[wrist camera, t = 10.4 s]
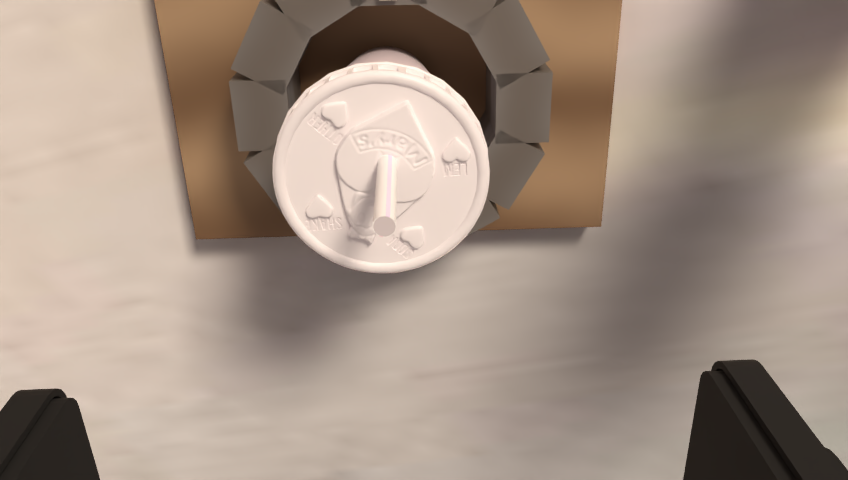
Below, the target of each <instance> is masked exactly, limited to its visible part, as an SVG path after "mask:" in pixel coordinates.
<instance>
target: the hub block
mask: <svg viewBox="0 0 848 480" xmlns="http://www.w3.org/2000/svg"><path fill="white" fill-rule="evenodd" d="M154 3H155V8H156V14H157V20H158V25H159V31H160V37H161V42H162V48H163V54H164V59H165V65H166V71H167V76H168V82H169V88H170V93H171V99H172V105H173V111H174V116H175V122H176V128H177V133H178V139H179V145H180V150H181V156H182V162H183V167H184V173H185V179H186V184H187V190H188V196H189V202H190V207H191V213H192V219H193V224H194V230H195V236H196V239H219V238H251V237H283V236H298V235H297V234H296V233H295V232H294V231H293V229H292V228H291V227H290V225H289V224H288V222H287V220H286V219H285V217H284V215H283V213H282V211H281V209H280V206H279V204H278V201H277V198H276V194H275V190H274V184H273V156H274V151H275V146H276V143H277V136H278V134H279V131H280V129H281V127H282V124H283V122H284V119H285V117H286V115H287V112H288V111H289V109H290V108H291V107H292V106H293V105H294V103H295V102H296V101H297V100H298V98H299V97H300V96H301V95H302V94H303V92H304V91H305V90H306V89H307V88H309V87H310V86H312V85H313V84H314V83H316V82H317V81H319V80H320V79H322V78H323V77H325V76H326V75H327V74H329V73H331V72H334V71H337V70H340V69H343V68H345V67H347V66H348V65H349V64H350V63H351V62H353V61H354V60H355V59H356V58H357V57H358V56H359V55H361V54H362V53H364V52H366V51H368V50H371V49H374V48H378V47H395V48H399V49H402V50H405V51H407V52H409V53H410V54H412V55H413V56H415V57H416V58H417V59H418V60H419V61H420V62H421V63H422V64H423V65H424V67H425V68H426V69H427V70H428V72H429V73H430V74H432V75H434V76H436V77H438V78H440V79H442V80H443V81H445V82H446V83H447V84H448V85H449V86H450V87H451V88H453V89H454V90H455V91H456V92H457V93H458V94H459V95H461V96H462V97H463V98H464V99H465V101H466V102H467V104H468V105H469V107H470V108H471V110H472V111H473V113H474V114H475V116H476V117H477V119H478V120H479V122H480V125H481V128H482V131H483V134H484V138H485V141H486V144H487V147H488V159H489V169H490V177H489V188H488V193H487V197H486V201H485V204H484V207H483V210H482V212H481V214H480V216H479V218H478V220H477V221H476V223H475V225H474V226H473V228H472V229H471V231H470V232H469V233H468V235H470V234H472V233H474V232H475V231H477V230H505V229H536V228H568V227H600V226H601V221H602V210H603V200H604V189H605V178H606V168H607V157H608V146H609V136H610V125H611V114H612V103H613V93H614V82H615V71H616V61H617V50H618V39H619V29H620V18H621V7H622V0H154ZM468 235H467V236H468Z"/></svg>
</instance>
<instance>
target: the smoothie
mask: <svg viewBox="0 0 848 480" xmlns="http://www.w3.org/2000/svg"><path fill="white" fill-rule="evenodd" d="M489 177H490V169H489V159H488V147H487V144H486V141H485V138H484V134H483V131H482V128H481V125H480V122H479V120H478V119H477V117H476V116H475V114H474V113H473V111H472V110H471V108H470V107H469V105H468V104H467V102H466V101H465V99H464V98H463V97H462V96H461V95H459V94H458V93H457V92H456V91H455V90H454V89H453V88H451V87H450V86H449V85H448V84H447V83H446V82H445V81H443V80H442V79H440V78H438V77H436V76H434V75H432V74H430V73H429V72H428V70H427V69H426V68H425V67H424V65H423V64H422V63H421V62H420V61H419V60H418V59H417V58H416V57H415V56H413V55H412V54H410V53H409V52H407V51H405V50H402V49H399V48H395V47H378V48H374V49H371V50H368V51H366V52H364V53H362V54H361V55H359V56H358V57H357V58H356V59H355V60H354V61H353V62H351V63H350V64H349V65H348V66H347V67H345V68H343V69H340V70H337V71H334V72H331V73H329V74H327V75H326V76H325V77H323V78H322V79H320V80H319V81H317V82H316V83H314V84H313V85H312V86H310V87H309V88H307V89H306V90H305V91H304V92H303V94H302V95H301V96H300V97H299V98H298V100H297V101H296V102H295V103H294V105H293V106H292V107H291V108H290V109H289V111H288V112H287V115H286V117H285V119H284V122H283V124H282V127H281V129H280V131H279V134H278V136H277V143H276V146H275V151H274V156H273V184H274V190H275V194H276V198H277V201H278V204H279V206H280V209H281V211H282V213H283V215H284V217H285V219H286V220H287V222H288V224H289V225H290V227H291V228H292V229H293V231H294V232H295V233H296V234H297V235H298V237H299V238H300V239H301V240H302V241H303V242H304V243H305V244H306V245H307V246H309V247H310V248H311V249H312V250H314V251H315V252H316V253H318V254H319V255H321V256H322V257H324V258H326V259H328V260H330V261H331V262H333V263H336V264H338V265H340V266H343V267H346V268H349V269H353V270H357V271H361V272H368V273H397V272H403V271H408V270H412V269H416V268H419V267H422V266H424V265H427V264H429V263H431V262H433V261H435V260H437V259H439V258H441V257H442V256H444V255H445V254H447V253H448V252H450V251H451V250H452V249H454V248H455V247H456V246H457V245H458V244H459V243H460V242H461V241H462V240H463V239H464V238H465V237H466V236H467V235H468V233H469V232H470V231H471V229H472V228H473V226H474V225H475V223H476V221H477V220H478V218H479V216H480V214H481V212H482V210H483V207H484V204H485V201H486V197H487V193H488V188H489Z"/></svg>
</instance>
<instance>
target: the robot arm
mask: <svg viewBox="0 0 848 480" xmlns="http://www.w3.org/2000/svg"><path fill="white" fill-rule="evenodd" d="M0 480H100V478H99V474H98V471H97V467H96V464H95V460H94V457H93V453H92V450H91V447H90V443H89V440H88V436H87V433H86V429H85V426H84V422H83V419H82V416H81V412H80V409H79V406H78V403H77V401H76V400H75V399H74V398H67V397H66V395H65V393H64V392H63V391H62V390H61V389H35V390H20V391H17V392H16V393H15V394H14V395H13V396H12V397H11V398H10V399H9V401H8V402H7V403H6V405H5V406H4V407H3V408H2V410H1V411H0ZM683 480H848V470H847V469H846V468H845V466H844V465H843V464H842V462H841V461H840V460H839V458H838V457H837V456H836V455H835V454H834V453H833V452H832V451H831V450H829V449H827V448H825V447H824V446H823V445H822V444H821V442H820V441H819V440H818V438H817V437H816V436H815V434H814V433H813V432H812V431H811V429H810V428H809V427H808V425H807V424H806V423H805V421H804V420H803V419H802V417H801V416H800V415H799V413H798V412H797V411H796V409H795V408H794V407H793V405H792V404H791V403H790V402H789V400H788V399H787V398H786V396H785V395H784V394H783V392H782V391H781V390H780V388H779V387H778V386H777V384H776V383H775V382H774V380H773V379H772V378H771V376H770V375H769V374H768V373H767V371H766V370H765V369H764V367H763V366H762V365H761V364H760V363H759V362H758V361H756V360H731V361H717V362H715V363H714V365H713V366H712V370H711V371H705V372H703V373H702V375H701V378H700V383H699V389H698V395H697V400H696V406H695V412H694V418H693V424H692V430H691V436H690V442H689V448H688V454H687V460H686V466H685V472H684V478H683Z"/></svg>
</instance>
